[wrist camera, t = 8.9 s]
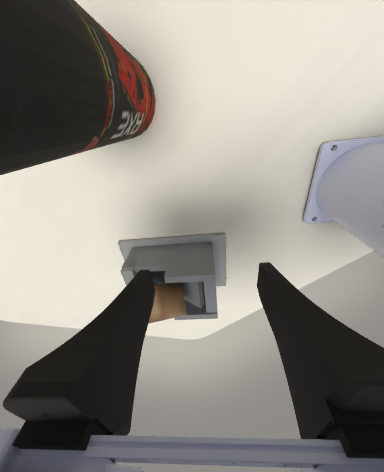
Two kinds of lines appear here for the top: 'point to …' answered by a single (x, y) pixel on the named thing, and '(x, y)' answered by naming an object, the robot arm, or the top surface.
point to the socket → (181, 267)
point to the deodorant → (64, 84)
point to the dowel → (168, 302)
